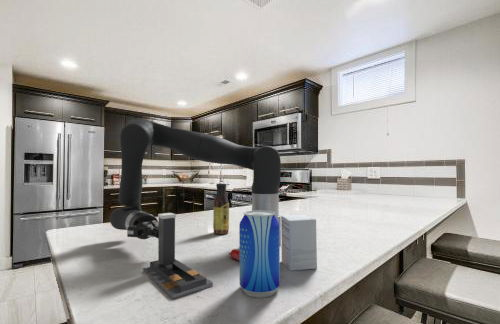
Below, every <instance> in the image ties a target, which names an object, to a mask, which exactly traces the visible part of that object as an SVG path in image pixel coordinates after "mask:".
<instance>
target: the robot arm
mask: <svg viewBox="0 0 500 324" xmlns="http://www.w3.org/2000/svg"><path fill="white" fill-rule="evenodd" d="M119 133H120V136H119V138H120V139H119V140H120V152H121V153H120V154H121V155H120V156H121V174H120V183H119V192H118V198H117V199H118V200H117V201H118V203H119V204H120V205H121V206H123V207H119V208H115V209H113V210H112V211H111V213H110V215H109V222H110V225H111V226H112V227H113V228H114V229H116V230H120V231H126V235H127V237H128V238H137V239H140V240H146V239H149V238H156V239H158V240H159V219H157V217H156V216H155V215H153V214H152V213H148V212H147V211H143V210H142V202H141V197H142V190H143V184H144V183H143V181H144V178H143V171H142V170H143V161H144V159H145V155H146V152H147V150H148V147H150V146H157V147H161V148H167V149H171V150H173V151H175V152H177V153H178V154H181V155H183V156H185V157H187V158H189V159H192V160H196V161H199V162H200V161H201V162H205V163H210V164H218V165H219V164H220V165H232V166H237V167H241V168H245V169H248V170H252V171H253V180H252V185H251V211H256V210H263V211H272V212H274V213H275V217H276V219H277V221H278V222H279V246H282V238H281V216H280V206H279V205H280V203H279V199H280V197H279V196H280V194H279V193H280V192H279V190H280V185H281V174H282V173H281V171H282V169H281V167H282V165H281V164H282V163H281V156H280V153H279V151H278V150H277V149H276V148H275V147H273V146H271V145H263V146H261V147H255V146H254V147H253V146H246V145H240V144H237V143H235V142H232V141H231V140H230V141H229V140H228V139H225V138H222V137H220V136H216V135H213V134H209V133H204V132H199V131H193V130H188V129H182V128H175V127H170V126H168V125H164V124H161V123H158V122H155V121H152V120H149V119H146V118H136V119H133V120H131V121H130V122H128V123H126V124H125V125H124V126H123V127H122V129H121V131H120V132H119ZM127 237H126V238H127Z"/></svg>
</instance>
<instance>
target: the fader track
mask: <svg viewBox="0 0 500 324" xmlns="http://www.w3.org/2000/svg"><path fill="white" fill-rule="evenodd" d="M170 264H172V265H173V268H172V269H168V268H167V267H165V266H164V265H162V264H161V263H159V262H158V259H157V260H152V261H150V262H149V266H148V267H147V266H146V267H144V268H142V269H143V270H142V273H144V274H145V275H146V276H147V277H148V278H150V279H151V280H152V281H153V282H154V283H155V284H156V285H157V286H158V287H159V288H160V289H161V290H162V291H163V292H165V293H166V295H168V296H169V297H170V298H171V299H172V300H175V299H178V298H181V297H183V296H187V295H189V294H192V293H195V292H198V291H202V290H205V289H208V288H211V287H214V286H213V285H214V281H212V280H210V279H209V278H207V276H204V275H202V274H201V273H200V272H198V271H196V270H194V269H192V268H191V267H189V266H188V265H186V264H184V263H183V262H181V261H180V260H179V259H176V258H175V262H173V263H170Z"/></svg>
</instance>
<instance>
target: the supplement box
mask: <svg viewBox="0 0 500 324" xmlns="http://www.w3.org/2000/svg"><path fill="white" fill-rule="evenodd" d="M280 217H281V262H282V263H283V264H284V265H285V267H287V269H288V270H289V272H290V271H291V272H293V271H294V272H295V271H304V270H314V269H315V270H316V269H318V259H317V258H318V252H317V250H318V248H317V219H316V218H314V217H311V216H309V215H306V214H294V215H293V214H292V215H291V214H290V215H281V216H280Z"/></svg>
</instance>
